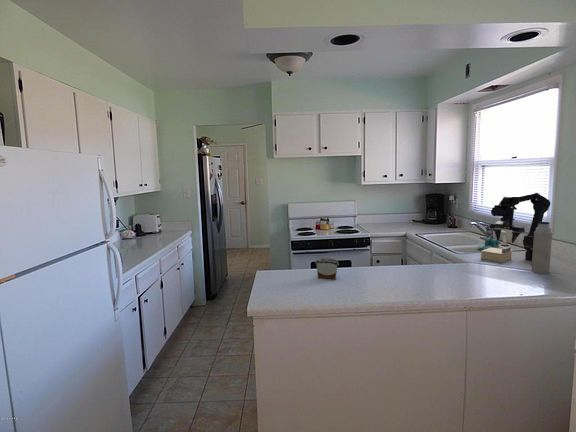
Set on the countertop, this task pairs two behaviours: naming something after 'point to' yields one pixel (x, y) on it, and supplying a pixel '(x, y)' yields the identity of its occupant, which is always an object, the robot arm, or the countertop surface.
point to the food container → (326, 268)
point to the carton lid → (498, 250)
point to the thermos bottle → (542, 248)
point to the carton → (496, 257)
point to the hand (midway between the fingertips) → (505, 241)
